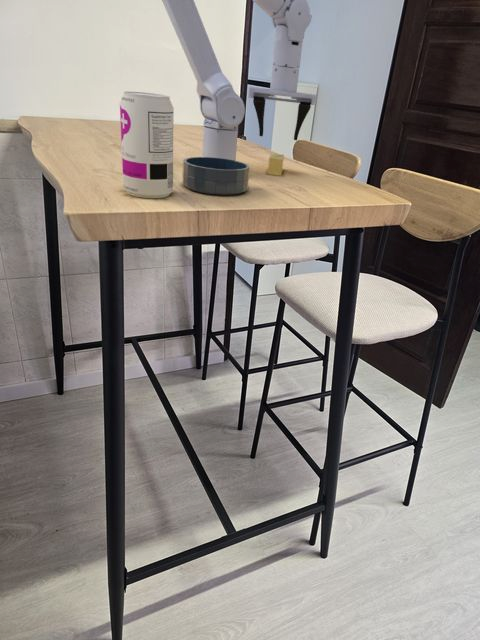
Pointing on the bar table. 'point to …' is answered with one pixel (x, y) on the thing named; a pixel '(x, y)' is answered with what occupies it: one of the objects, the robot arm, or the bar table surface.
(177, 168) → the bar table surface
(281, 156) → the butter
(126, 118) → the supplement can
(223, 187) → the bowl
